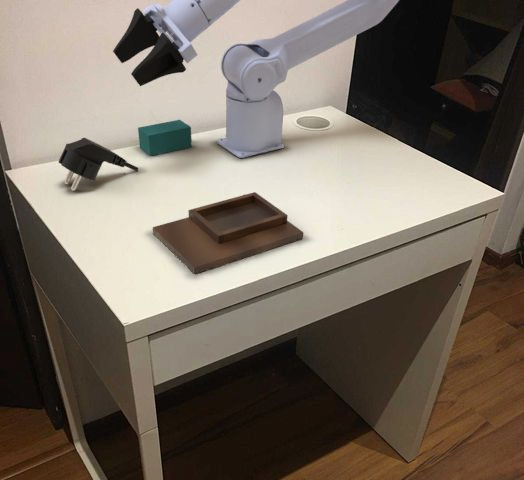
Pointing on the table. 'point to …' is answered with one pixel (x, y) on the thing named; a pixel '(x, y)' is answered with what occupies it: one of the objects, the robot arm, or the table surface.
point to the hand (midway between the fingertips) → (126, 68)
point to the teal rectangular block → (164, 137)
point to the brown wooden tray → (227, 232)
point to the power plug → (88, 160)
